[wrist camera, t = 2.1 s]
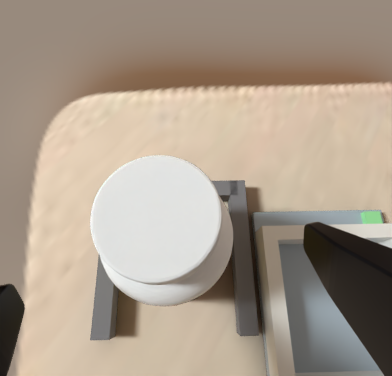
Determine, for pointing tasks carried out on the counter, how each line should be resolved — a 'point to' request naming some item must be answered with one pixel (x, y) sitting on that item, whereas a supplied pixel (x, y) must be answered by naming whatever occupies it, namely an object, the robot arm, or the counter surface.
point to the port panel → (308, 296)
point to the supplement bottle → (161, 230)
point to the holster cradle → (241, 265)
